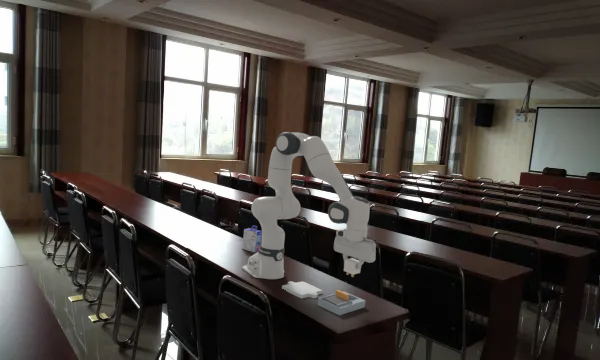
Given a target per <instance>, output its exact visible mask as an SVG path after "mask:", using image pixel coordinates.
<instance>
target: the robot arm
mask: <svg viewBox="0 0 600 360" xmlns="http://www.w3.org/2000/svg"><path fill="white" fill-rule="evenodd" d="M296 157H297V158H302V157H304V158H305V161H306V164H307V167H308V169H309V171H310V173H311V174H312V175H313V177H314V178H316V179H318V180H320V181H323V182H325V183H328V184H329V185H330V186H331V187H332V188H333V190H334V191H335V193H336V195H337V197H338V198H339V201H335V202H333V203H331V204H330V205H329V207H328V210H327V215H328V218H329V220H330V221H331V223H334V224H337V225H340V224H343V225H346V228H344V229H339V230H336V233H335V234H336V235H335V238H334V242H333V250H334V251H335V252H337V253H340V254H342V257H343V265H344V264H345V259H349V258H348V257H350V258H354V259H356V260H359V264H358V265H356V269H358V270H360V269H362V265H363V264H364V263H374V262H375V261H376V253H377V251H376V248H377V244H376V242H375V241H374V240H373V239H369V238H367V237H368V223H369V220H370V209H371V208H370V201H369V200H368V199H366V198H364V197H361V196H357V195H354V194H353V192H352V191H351V189H350V186H349V184H348V183H347V181H346V179H345V177H344V176H343V174H342V173H341V171H340V170H339V169H338V167H337V166H336V163H335V162H334V160H333V158H332V155H331V154H330V152H329V149H328V148H327V146H326V144H325V143H324V141H323V139H322V138H321V137H320V136H316V135H310V134H308V133H303V132H298V131H297V132H290V131H285V132H282V133H279V134H278V136H277V137H276V139H275V146H274V147H273V148H272V151H271V154H270V158H269V163H268V172H267V173H268V174H267V175H268V176H267V184H268V186H269V187H270V188H272V189H273V190H274V191H275V196H261V197H257V198H255V199H254V200H253V202H252V203H251V208H250V209H251V213H252V215H253V217H254V218H256V219H257V222H259V224H260V227H261V231H262V238H261V245H260V246H259V247H257V248H259V250H258V252H254V254H253V255H251V256H249V257H248V259H247V264H245V265H243V266H242V268H241V269H242V270H244V272H246V273H248V274H249V275H250V276H252V277H253V278H256V279H266V280H278V279H282V278H284V277H285V275H284V274H285V270H284V268H285V267H284V264H285V263H284V259H285V258H284V254H285V239H286V237H285V236H286V233H285V231H284V229H283V228H282V227H280V226H279V225H278V220H289V219H293V218H297V217H299V214H300V213H301V204H300V201H299V200H298V198H296V196H295V194H294V193H293V190H292V181H291V180H292V170H293V161H294V159H295V158H296ZM360 271H361V270H360Z"/></svg>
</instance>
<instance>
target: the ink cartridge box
mask: <svg viewBox="0 0 600 360" xmlns="http://www.w3.org/2000/svg"><path fill="white" fill-rule="evenodd" d="M261 243H262V230H258V226H257V225H252V226H251V227H248V228H244V229H243V238H242V245H241V246H242V247H241V249H242V250H245V251H249V252H251V253H257V252H258V250H259V248H257V247H259V246H260V245H261Z"/></svg>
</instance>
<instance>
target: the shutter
mask: <svg viewBox="0 0 600 360" xmlns="http://www.w3.org/2000/svg"><path fill="white" fill-rule="evenodd" d="M344 292H345V291H344ZM344 292H343V291H341V290H339V289H336V290H335V294H336V295H334V296H330V297H327V298H324V300H326V301H328V302H330V303H332V304H334V305H337V304H340V303H343V302H347V301H349V300H348V299H349V294H350V293H349V294H347V293H348V292H347V293H344Z"/></svg>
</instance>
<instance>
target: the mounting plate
mask: <svg viewBox="0 0 600 360" xmlns="http://www.w3.org/2000/svg"><path fill="white" fill-rule="evenodd" d="M283 289H284V290H283ZM281 290H283V291H285V290H286V291H285V292H287V293H289V294H291V295H293V296H295V297H297V298H300V299H304V298H312V299H317V298H318V297H319V295H321V294H323V289H320V288H318V287H317V286H314V285H312V284H310V283H307V282H305V281H298V282H294V281H292V280H291V281H288V282H287V284H283V285H281Z"/></svg>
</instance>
